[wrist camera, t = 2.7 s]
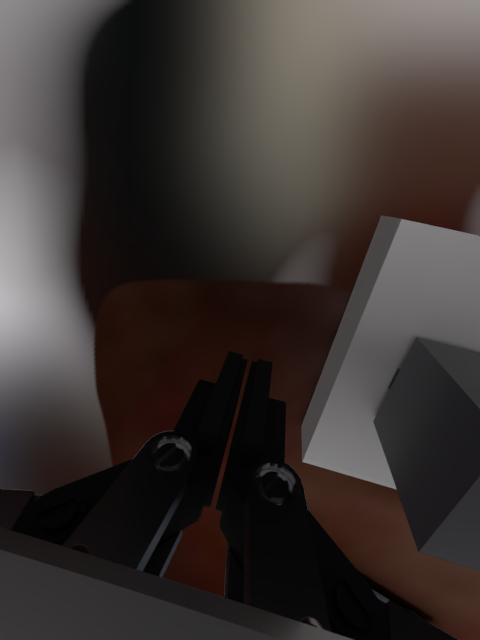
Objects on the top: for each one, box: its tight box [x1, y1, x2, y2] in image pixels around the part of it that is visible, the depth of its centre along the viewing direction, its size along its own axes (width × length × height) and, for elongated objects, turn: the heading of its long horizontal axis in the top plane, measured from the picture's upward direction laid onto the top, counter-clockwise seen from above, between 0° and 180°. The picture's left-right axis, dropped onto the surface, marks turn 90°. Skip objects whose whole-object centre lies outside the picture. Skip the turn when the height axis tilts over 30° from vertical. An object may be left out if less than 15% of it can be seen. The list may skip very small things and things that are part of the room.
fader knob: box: [373, 337, 480, 571], centre depth 11 cm, size 3×5×6 cm, turn 168°
